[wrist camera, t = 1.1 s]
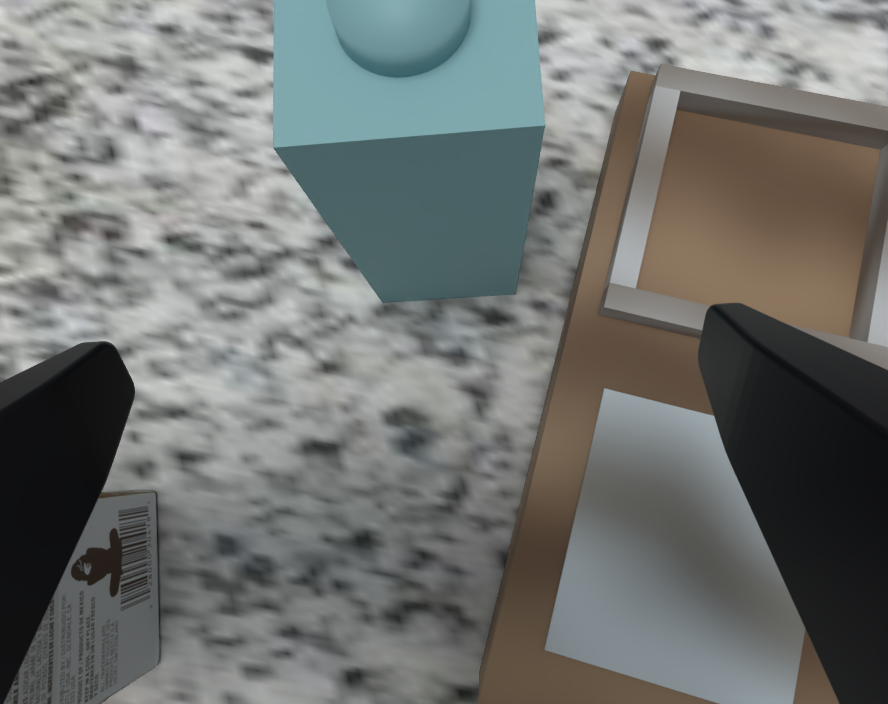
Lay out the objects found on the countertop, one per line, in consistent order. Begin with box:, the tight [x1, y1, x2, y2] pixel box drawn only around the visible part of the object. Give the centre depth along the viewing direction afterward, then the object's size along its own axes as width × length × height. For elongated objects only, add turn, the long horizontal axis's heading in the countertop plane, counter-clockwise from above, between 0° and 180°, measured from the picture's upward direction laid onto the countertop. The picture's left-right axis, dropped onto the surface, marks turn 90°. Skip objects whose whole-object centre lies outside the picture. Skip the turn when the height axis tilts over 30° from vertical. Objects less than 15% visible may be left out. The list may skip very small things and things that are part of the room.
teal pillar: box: [273, 0, 545, 303], centre depth 16 cm, size 5×5×12 cm
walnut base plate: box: [478, 64, 888, 704], centre depth 19 cm, size 21×10×4 cm, turn 165°
